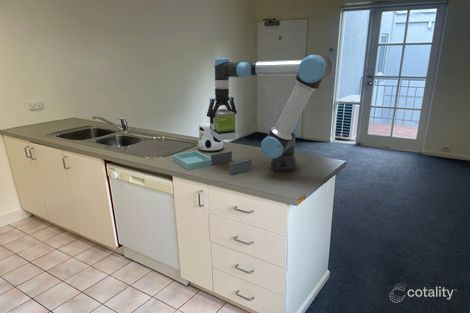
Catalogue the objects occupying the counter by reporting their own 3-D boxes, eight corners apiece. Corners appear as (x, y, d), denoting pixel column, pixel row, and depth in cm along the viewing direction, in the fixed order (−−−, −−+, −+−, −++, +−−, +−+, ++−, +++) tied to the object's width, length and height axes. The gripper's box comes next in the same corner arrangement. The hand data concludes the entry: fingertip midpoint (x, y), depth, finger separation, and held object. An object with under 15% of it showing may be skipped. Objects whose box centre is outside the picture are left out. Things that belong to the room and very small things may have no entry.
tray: (213, 164, 189) (213, 158, 188) (188, 170, 180) (188, 164, 179) (196, 156, 206) (196, 150, 204) (173, 160, 197) (173, 155, 196)
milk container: (193, 149, 221) (192, 123, 216) (214, 144, 231) (214, 120, 226) (207, 154, 208) (206, 127, 202) (229, 150, 218) (228, 124, 212)
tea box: (209, 134, 186) (209, 109, 181) (225, 133, 189) (225, 108, 185) (218, 140, 173) (218, 113, 168) (235, 139, 176) (236, 112, 172)
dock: (251, 169, 180) (251, 159, 178) (230, 175, 172) (230, 164, 171) (230, 160, 197) (230, 150, 195) (210, 164, 189) (210, 154, 187)
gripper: (236, 86, 182) (235, 124, 189) (199, 88, 170) (200, 129, 176) (243, 87, 176) (243, 126, 183) (206, 89, 164) (207, 132, 170)
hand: (222, 128), depth 179 cm, fingers closed on tea box, 11 cm apart
